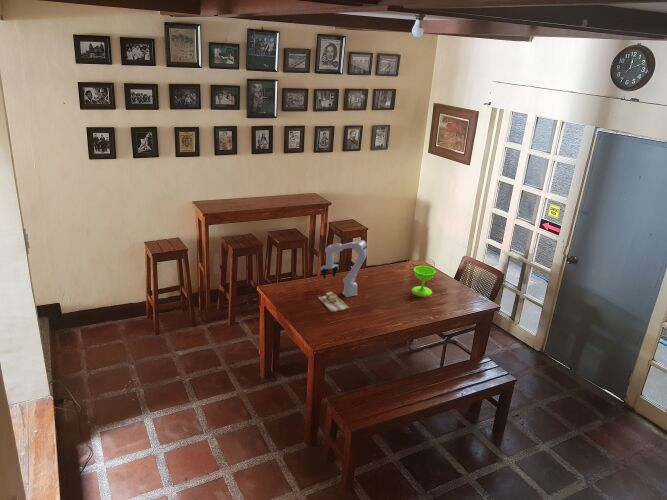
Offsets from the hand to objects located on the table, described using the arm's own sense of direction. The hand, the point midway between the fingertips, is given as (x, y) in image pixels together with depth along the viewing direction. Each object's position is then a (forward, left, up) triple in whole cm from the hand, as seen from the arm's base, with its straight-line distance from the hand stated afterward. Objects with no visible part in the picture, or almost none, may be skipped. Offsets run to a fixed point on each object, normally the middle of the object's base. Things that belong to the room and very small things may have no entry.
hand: (328, 277), depth 396 cm
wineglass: (-65, +30, -10) cm, 72 cm away
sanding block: (+7, +19, -8) cm, 22 cm away
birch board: (+7, +23, -9) cm, 26 cm away
